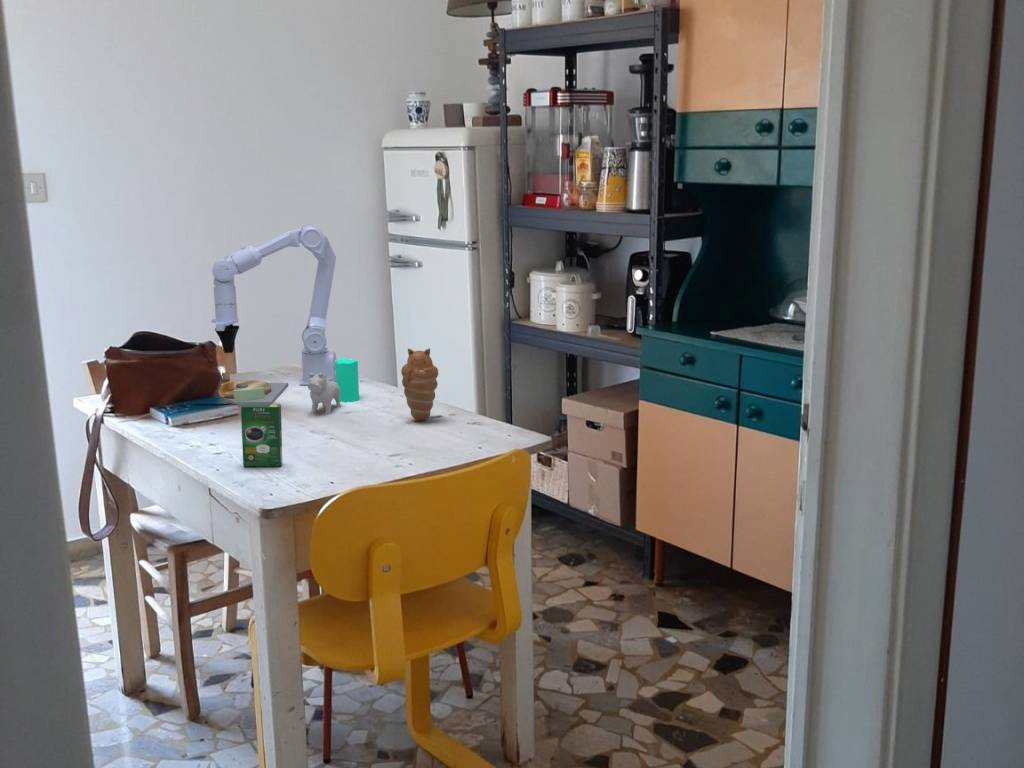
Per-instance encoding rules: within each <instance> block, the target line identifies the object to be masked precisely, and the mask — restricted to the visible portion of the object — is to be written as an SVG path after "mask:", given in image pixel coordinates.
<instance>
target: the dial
mask: <svg viewBox="0 0 1024 768" xmlns="http://www.w3.org/2000/svg"><path fill="white" fill-rule="evenodd" d="M221 373H222V376H223V383H222V384H221V387H220V390H219V395H220V396H221V397H223V398H224V397H228V398H234V390H244V389H254V388H260V387H263V388H264V394H266V393H268V392H270V391H271V384H270V383H271V382H266V381H262V380H235V381H233V380H232V381H231V373H230V372H221Z"/></svg>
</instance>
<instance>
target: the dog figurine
mask: <svg viewBox="0 0 1024 768" xmlns="http://www.w3.org/2000/svg"><path fill="white" fill-rule="evenodd" d="M307 388H308V390H309V391H310V393H309V395H310V397H309V398H310V399H311V401H312V405H311V412H310V413H311V414H317V411H318V408H319V404H320V403H321V404H322V406H321V407H322V408H324V409H325V414H326V415H330V414H331V412H332V411H331V410H332V401H333V399H334V401H335V403H336V404H335V406H336V408H337V409H338V408H339V409H340V408H341V402H340V387H339V385H338V384H337V382H336V381H333V380H332V378H328V379H326V375H323V374H322V373H319V374H313V373H310V374H309V385H307Z"/></svg>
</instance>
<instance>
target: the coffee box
mask: <svg viewBox="0 0 1024 768" xmlns="http://www.w3.org/2000/svg"><path fill="white" fill-rule="evenodd" d="M240 416H241V417H240V418H241V419H240V422H241V441H242V442H241V445H242V465H243V466H248V467H247V468H255V467H256V468H257V467H262V468H263V467H269V468H274V467H280V466H281V467H282V465H283V438H282V437H283V434H282V433H283V431H282V430H283V429H282V405H281V403H272V404H243V405H240ZM243 466H242V467H243ZM249 466H250V467H249ZM251 466H252V467H251ZM253 466H255V467H253Z"/></svg>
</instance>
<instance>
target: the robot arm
mask: <svg viewBox="0 0 1024 768" xmlns="http://www.w3.org/2000/svg"><path fill="white" fill-rule="evenodd" d="M300 244H301V245H302V246H303V248H304V249H306V250H308V251H309V252H311V253H312V255H313V256H314V257H315V259H316V260H317V261H318V262H317V268H316V274H315V279H314V285H313V290H312V298H311V305H310V310H309V311H310V312H309V314H308V319H307V324H306V327H305V328H304V329H303V331H302V333H301V338H302V339H301V340H302V342H303V348H302V349H301V365H302V366H301V367H302V380H301V381H300V382H299V386H308V385H309V374H310V373H313V374H319V373H322V374H323V375H326V379H328V378H332V380H333V381H335V382H336V367H335V360H337V355H336V352H335V351H329V350H328V348H327V347H326V346H327V337H326V335H325V333H326V323H327V321H326V320H327V314H328V309H329V303H330V302H329V301H330V296H331V292H332V291H331V290H332V285H333V279H334V272H335V268H336V267H335V266H336V261H337V256H336V254H335V252H334V250H333V247H332V246H331V243H330V241H329V240H328V237H327V236H326V234H325V233H324V232H323V231H322V230H321V229H320V228H319V227H318V226H316V225H314V224H305V225H303V226H302V227H297V228H294V229H291V230H289V231H286V232H285V233H282V234H281V235H278V236H277V237H275V238H273V239H271V240H269V241H267V242H265V243H263V244H261V245H259V246H257V247H255V246H253V245H248V246H246V245H243V246H241V247H240V249H239V250H238V251H236V252H234V253H232V254H226V255H225V256H224V258H220V259H218V260H216V261H215V262H214V264H213V266H212V271H211V273H212V276H213V277H214V279H213V285H214V286H213V299H214V311H215V318H213V319H211V323H214V324H215V329H214V330H215V333H216V334H217V336H218V337H219V340H220V343H221V345H222V350H223V352H224V354H233V352H234V350H235V344H236V343H235V342H236V337H237V334H238V331H239V329H240V325H237V324H238V323H239V318H238V307H237V306H238V305H237V291H236V286H235V275H242V274H244V273H245V272H248V271H249V270H252V269H254V268H255V267H259V265H261V263H262V259H263V258H265V257H268V256H271V255H272V254H275V253H276V252H279V251H281V250H283V249H286V248H288V247H293V248H300V247H301V245H300ZM234 324H236V325H234Z"/></svg>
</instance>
